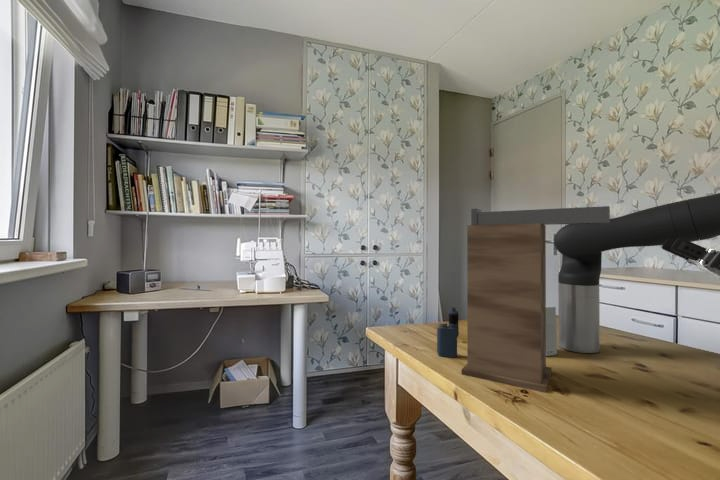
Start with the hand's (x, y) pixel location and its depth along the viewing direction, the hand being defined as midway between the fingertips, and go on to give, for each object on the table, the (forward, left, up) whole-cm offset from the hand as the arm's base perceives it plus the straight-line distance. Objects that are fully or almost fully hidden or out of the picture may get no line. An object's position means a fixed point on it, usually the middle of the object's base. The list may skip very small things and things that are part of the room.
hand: (669, 243), depth 59 cm
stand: (0, -26, -28) cm, 39 cm away
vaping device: (-4, -41, -28) cm, 50 cm away
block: (0, -21, +4) cm, 21 cm away
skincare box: (-20, -22, -28) cm, 41 cm away
